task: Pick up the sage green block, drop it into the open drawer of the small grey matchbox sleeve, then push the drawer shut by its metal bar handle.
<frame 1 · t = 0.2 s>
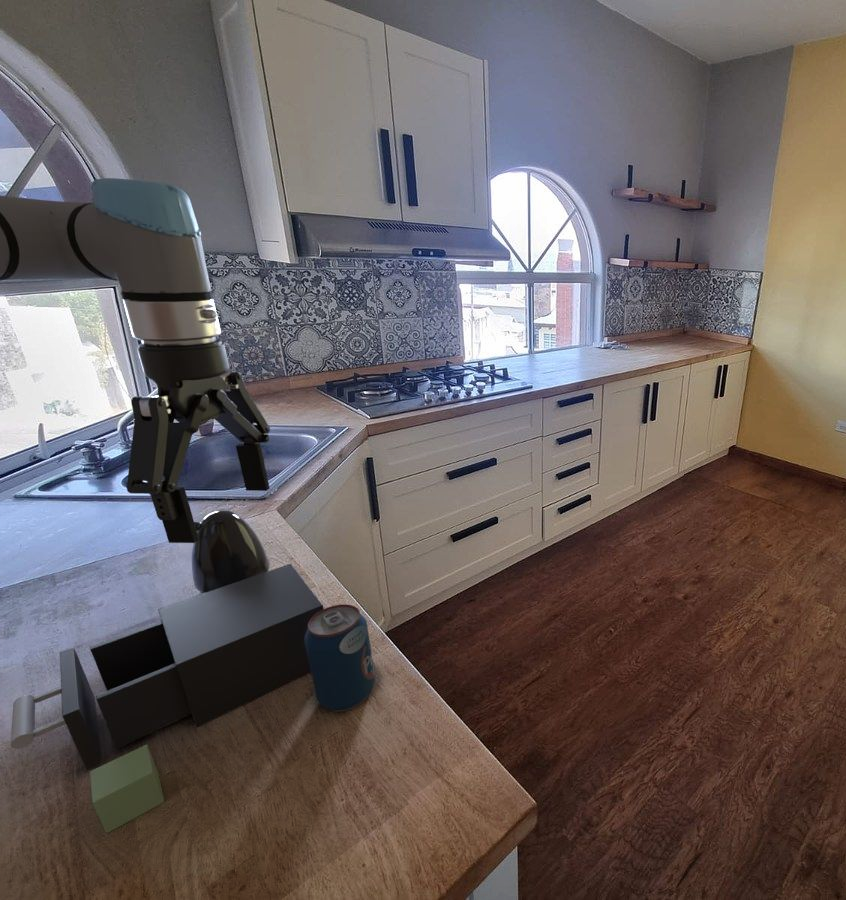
hand: (224, 513, 62), 23 cm above the countertop, tool pointing down, fingers open, 13 cm apart
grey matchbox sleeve: (256, 663, 70), on the countertop
drawer: (132, 683, 60), point 5 cm above the countertop, slide at 8.0 cm
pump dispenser: (237, 593, 84), on the countertop
soda can: (348, 694, 65), on the countertop
block: (133, 801, 52), on the countertop
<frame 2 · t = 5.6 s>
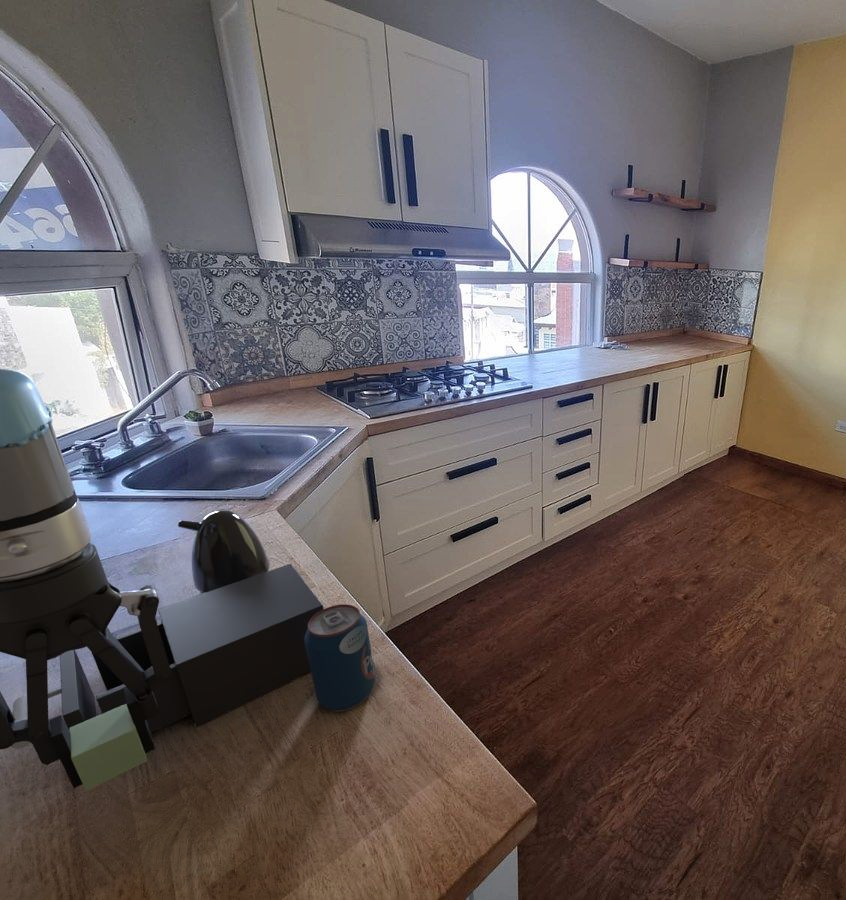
hand: (114, 758, 50), 6 cm above the countertop, tool pointing down, fingers closed on block, 4 cm apart
block: (115, 760, 50), point 6 cm above the countertop, touching gripper
everything else where it was.
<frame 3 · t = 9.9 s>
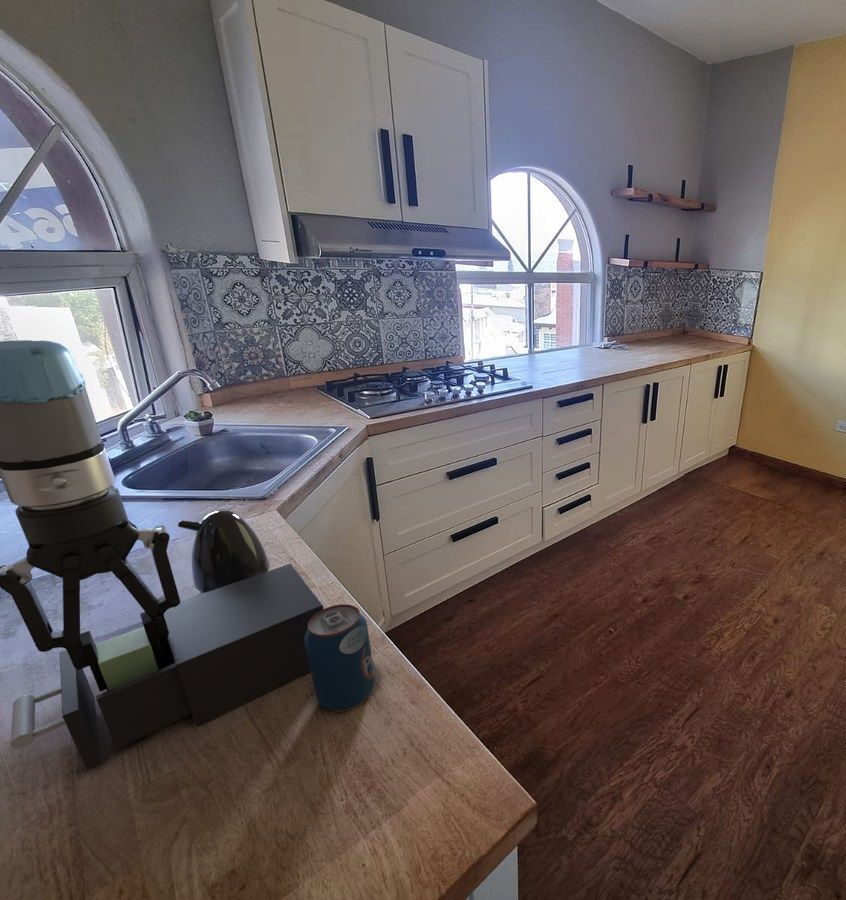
hand: (132, 671, 60), 6 cm above the countertop, tool pointing down, fingers closed on block, 4 cm apart
block: (133, 673, 60), point 6 cm above the countertop, touching gripper
everything else where it was.
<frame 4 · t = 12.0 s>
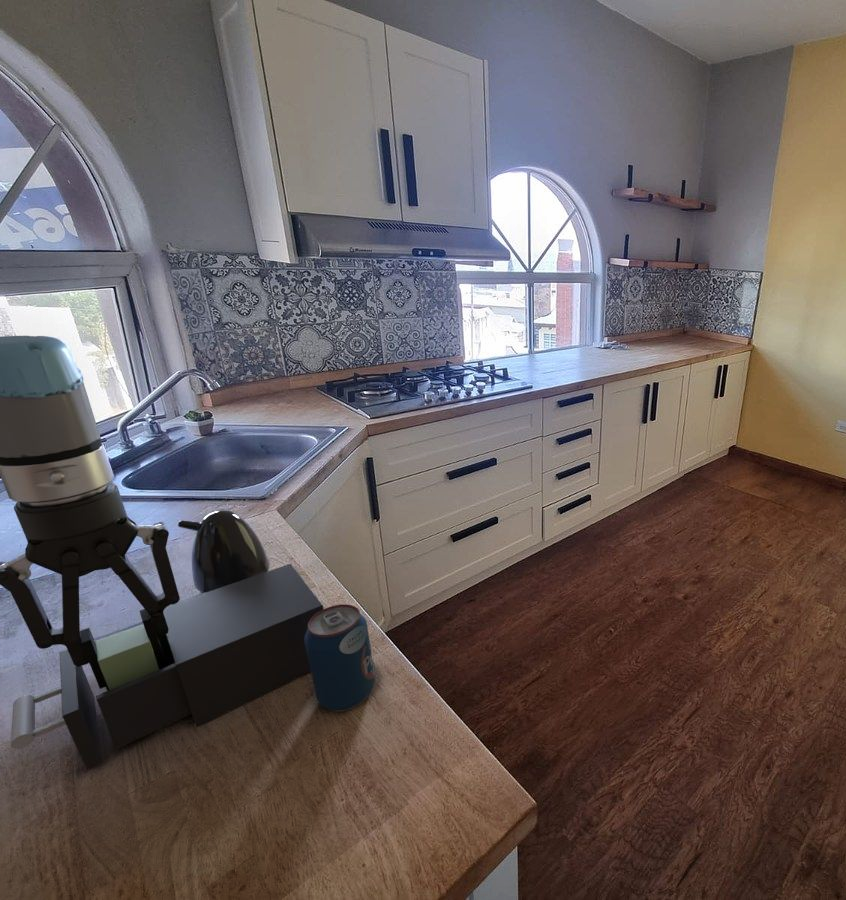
hand: (132, 668, 59), 7 cm above the countertop, tool pointing down, fingers closed on block, 4 cm apart
block: (133, 670, 59), point 7 cm above the countertop, touching gripper
everything else where it was.
when the fingers open (9 cm above the countertop, at t = 18.5 s): block drops 7 cm, resting on drawer.
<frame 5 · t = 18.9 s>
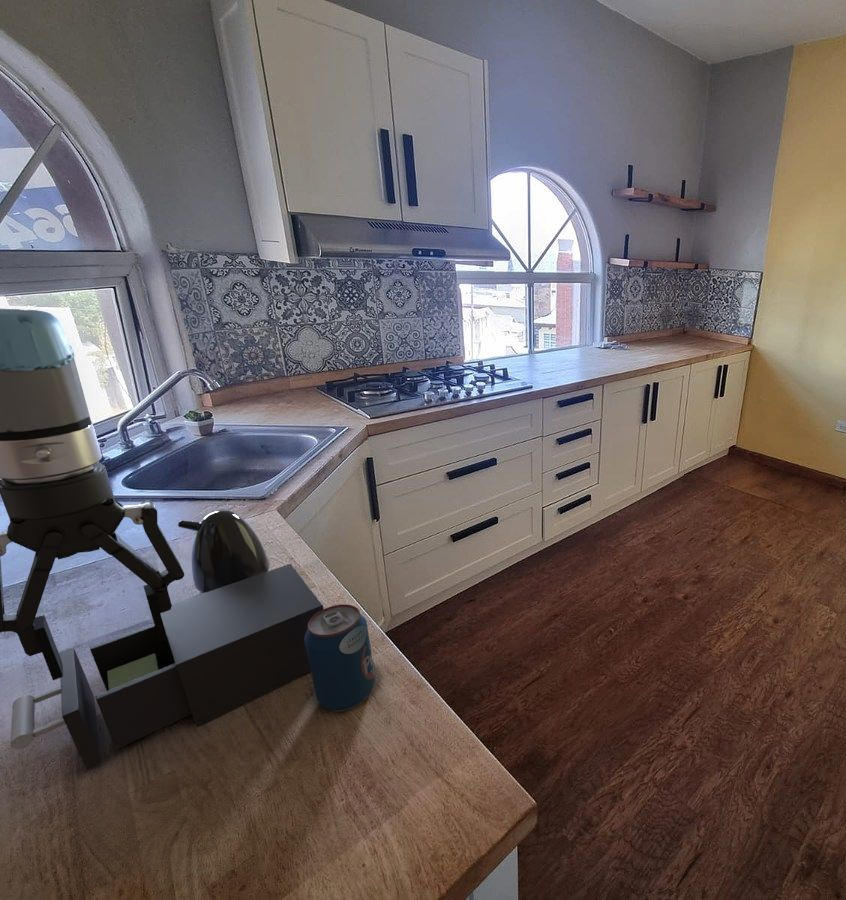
hand: (112, 652, 58), 10 cm above the countertop, tool pointing down, fingers open, 8 cm apart
drawer: (132, 683, 60), point 5 cm above the countertop, slide at 8.0 cm, touching block
block: (143, 699, 61), point 2 cm above the countertop, touching drawer
everything else where it was.
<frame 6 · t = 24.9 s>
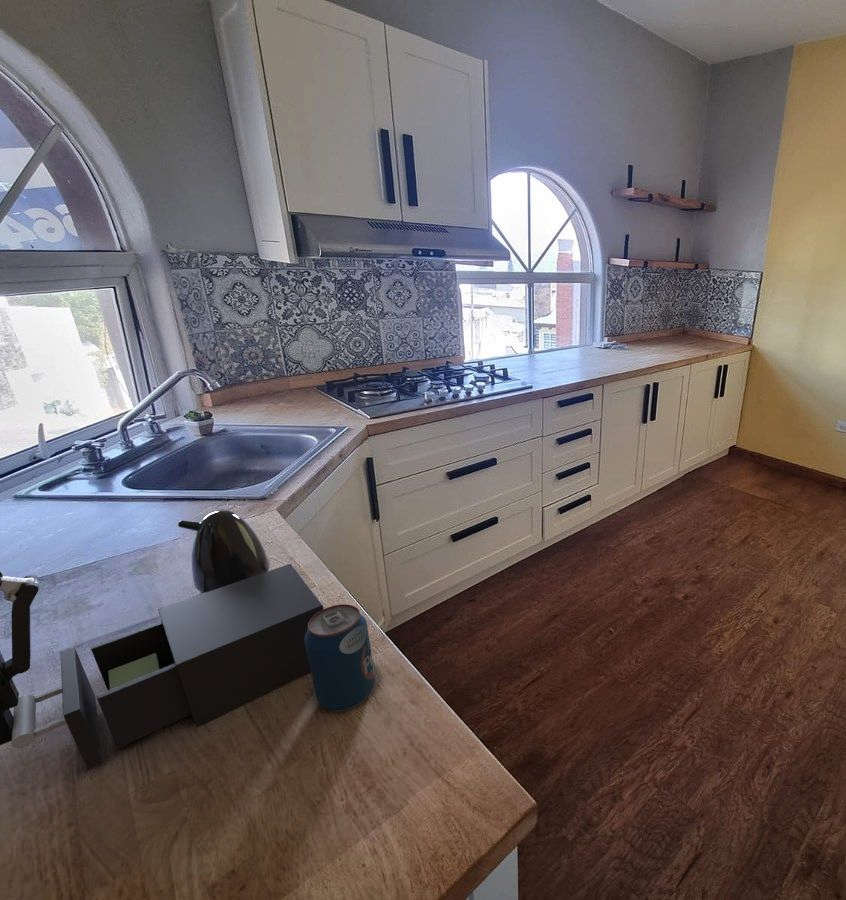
hand: (5, 735, 53), 5 cm above the countertop, tool pointing down, fingers closed
drawer: (133, 683, 60), point 5 cm above the countertop, slide at 7.9 cm, touching block, gripper
everything else where it was.
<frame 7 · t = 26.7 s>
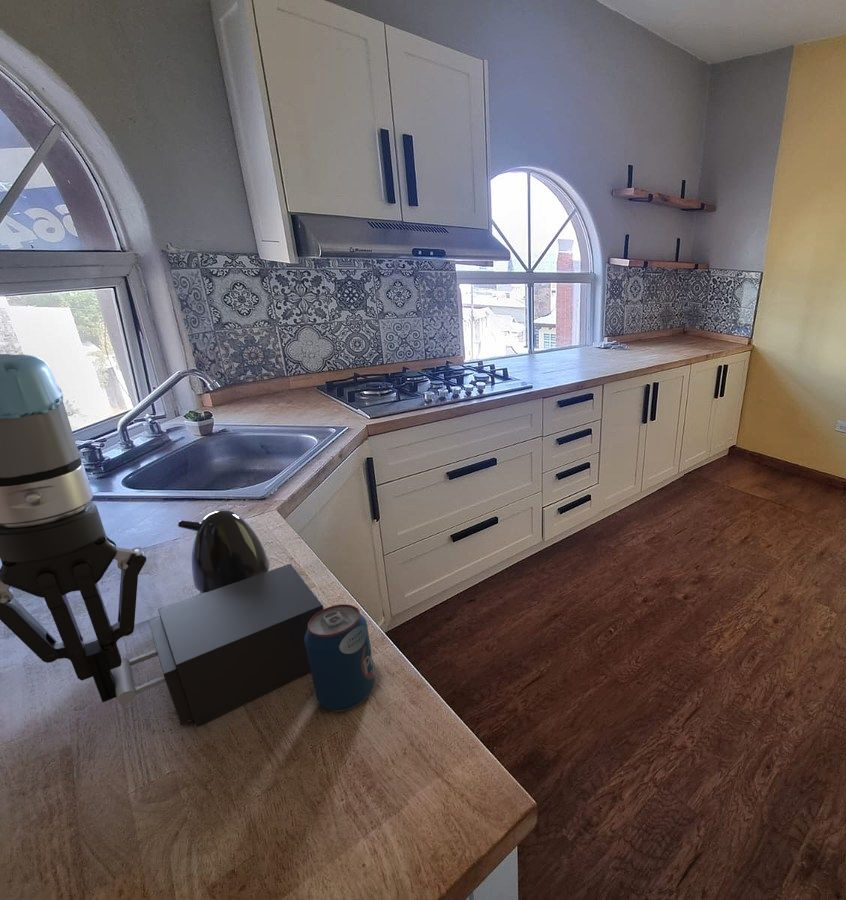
hand: (109, 692, 58), 5 cm above the countertop, tool pointing down, fingers closed
drawer: (214, 650, 65), point 5 cm above the countertop, slide at 0.0 cm, touching block, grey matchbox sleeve, gripper
block: (223, 665, 67), point 2 cm above the countertop, touching drawer
everything else where it was.
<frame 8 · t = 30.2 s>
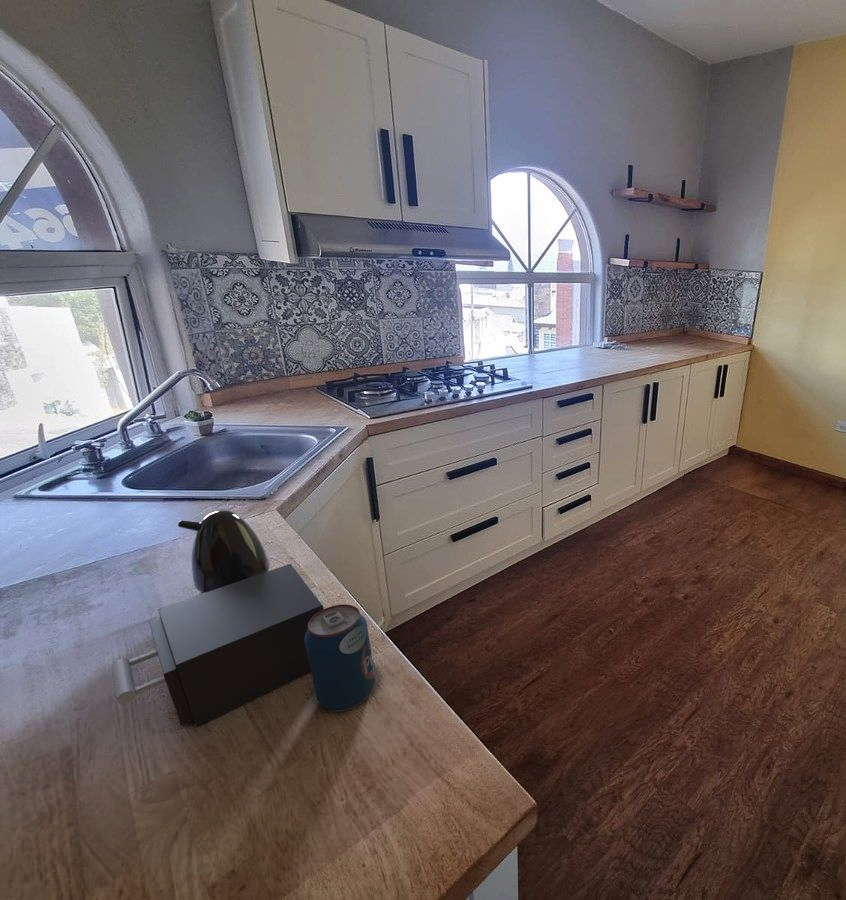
drawer: (214, 650, 65), point 5 cm above the countertop, slide at 0.0 cm, touching block
everything else where it was.
at the end: block inside the target area in the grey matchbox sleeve (2.8 cm from its centre), point 2.0 cm above the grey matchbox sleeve's base; drawer slide at 0.0 cm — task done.
